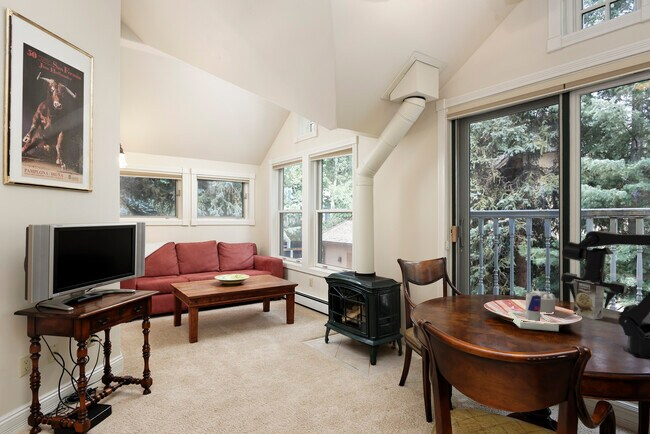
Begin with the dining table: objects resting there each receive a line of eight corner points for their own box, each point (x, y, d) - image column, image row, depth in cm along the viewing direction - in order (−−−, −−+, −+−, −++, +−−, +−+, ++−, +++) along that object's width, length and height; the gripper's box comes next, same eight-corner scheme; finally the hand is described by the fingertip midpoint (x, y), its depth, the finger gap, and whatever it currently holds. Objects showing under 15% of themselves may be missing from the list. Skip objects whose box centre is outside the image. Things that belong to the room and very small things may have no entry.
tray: (558, 331, 132) (558, 325, 132) (520, 328, 135) (520, 322, 135) (542, 319, 146) (543, 314, 146) (508, 316, 149) (508, 311, 149)
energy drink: (539, 325, 137) (540, 296, 136) (524, 322, 140) (525, 294, 140) (540, 322, 141) (541, 294, 140) (526, 319, 144) (527, 291, 144)
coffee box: (572, 313, 156) (573, 279, 155) (581, 312, 158) (583, 278, 157) (594, 319, 147) (595, 283, 146) (603, 318, 149) (605, 282, 149)
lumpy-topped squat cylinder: (552, 308, 163) (552, 291, 163) (557, 316, 151) (558, 297, 151) (527, 305, 167) (528, 288, 167) (530, 313, 156) (531, 294, 155)
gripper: (632, 266, 123) (626, 307, 124) (571, 257, 137) (567, 294, 138) (626, 270, 116) (620, 314, 117) (562, 260, 130) (558, 298, 131)
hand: (589, 304), depth 126 cm, fingers open, 9 cm apart
